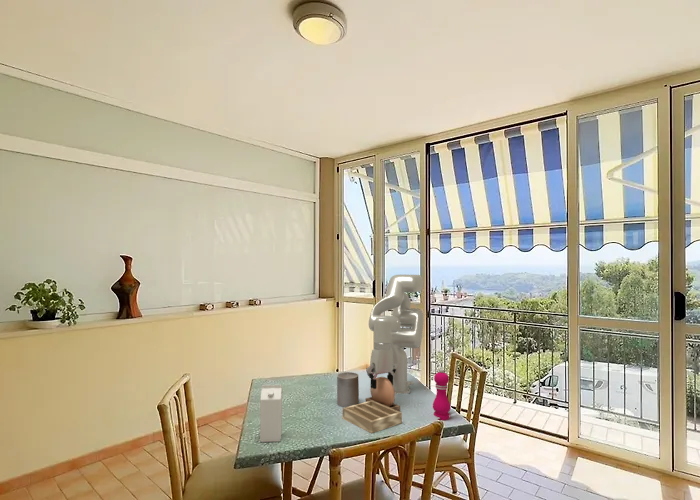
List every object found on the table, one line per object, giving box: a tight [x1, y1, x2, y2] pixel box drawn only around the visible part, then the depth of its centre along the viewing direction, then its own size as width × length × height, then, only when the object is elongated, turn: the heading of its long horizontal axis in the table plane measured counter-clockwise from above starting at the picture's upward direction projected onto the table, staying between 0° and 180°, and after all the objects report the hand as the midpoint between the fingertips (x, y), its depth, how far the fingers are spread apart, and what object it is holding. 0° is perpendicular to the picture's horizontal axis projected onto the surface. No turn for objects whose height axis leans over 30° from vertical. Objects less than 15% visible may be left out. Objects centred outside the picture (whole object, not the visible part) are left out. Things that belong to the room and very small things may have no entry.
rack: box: [342, 400, 403, 434], centre depth 159 cm, size 16×18×5 cm
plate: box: [370, 376, 396, 407], centre depth 174 cm, size 2×13×13 cm, turn 38°
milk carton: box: [259, 384, 283, 443], centre depth 146 cm, size 7×7×19 cm
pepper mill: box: [432, 368, 451, 421], centre depth 166 cm, size 7×7×20 cm
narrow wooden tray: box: [365, 396, 401, 412], centre depth 173 cm, size 6×16×3 cm, turn 38°
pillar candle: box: [336, 371, 360, 408], centre depth 178 cm, size 10×10×15 cm
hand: (381, 386), depth 173 cm, fingers open, 9 cm apart
